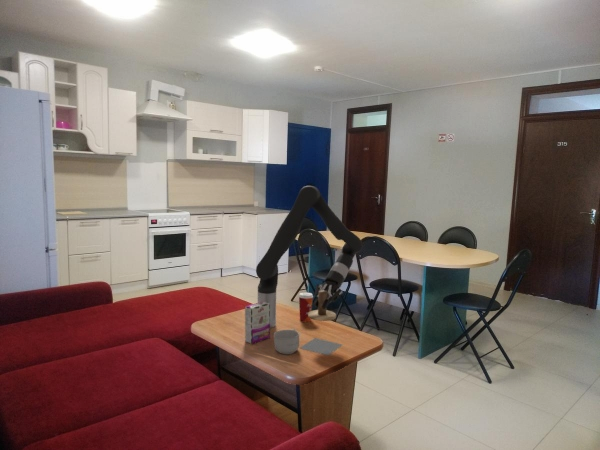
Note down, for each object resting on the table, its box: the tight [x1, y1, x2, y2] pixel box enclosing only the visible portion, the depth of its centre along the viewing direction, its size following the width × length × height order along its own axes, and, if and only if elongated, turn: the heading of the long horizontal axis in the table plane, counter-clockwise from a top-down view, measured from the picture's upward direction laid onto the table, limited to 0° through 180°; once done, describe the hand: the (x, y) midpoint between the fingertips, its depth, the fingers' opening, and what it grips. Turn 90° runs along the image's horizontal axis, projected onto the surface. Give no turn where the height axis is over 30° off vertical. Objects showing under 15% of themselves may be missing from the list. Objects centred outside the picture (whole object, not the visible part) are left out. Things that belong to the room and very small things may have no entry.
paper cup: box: [298, 292, 314, 323], centre depth 209 cm, size 8×8×14 cm
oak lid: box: [308, 290, 337, 322], centre depth 173 cm, size 12×12×11 cm
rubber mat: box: [299, 337, 343, 356], centre depth 174 cm, size 14×14×1 cm
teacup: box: [273, 328, 300, 355], centre depth 170 cm, size 14×11×8 cm
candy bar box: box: [244, 302, 271, 345], centre depth 180 cm, size 11×5×16 cm, turn 137°
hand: (319, 306), depth 171 cm, fingers closed on oak lid, 3 cm apart
